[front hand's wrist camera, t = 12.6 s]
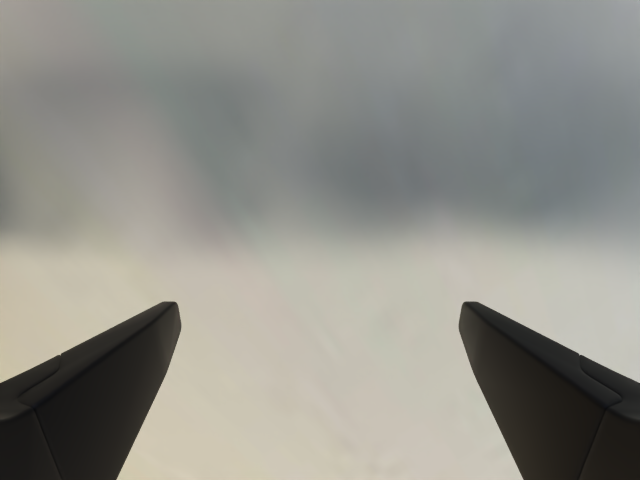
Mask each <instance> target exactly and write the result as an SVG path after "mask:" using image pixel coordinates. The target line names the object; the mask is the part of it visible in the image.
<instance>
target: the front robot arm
mask: <svg viewBox="0 0 640 480" xmlns="http://www.w3.org/2000/svg"><path fill="white" fill-rule="evenodd" d="M180 332H181V320H180V314H179V308H178V305H177V303H176V302H161V303H159V304H157V305H155V306H154V307H152V308H150V309H148V310H146V311H144V312H142V313H140V314H138V315H136V316H134V317H132V318H130V319H128V320H126V321H124V322H122V323H120V324H118V325H116V326H114V327H112V328H110V329H109V330H107V331H105V332H103V333H101V334H99V335H97V336H95V337H93V338H91V339H89V340H87V341H85V342H83V343H81V344H79V345H77V346H75V347H73V348H71V349H69V350H67V351H65V352H63V353H62V354H61V356H60V355H57V356H55V357H54V358H52V359H50V360H48V361H46V362H44V363H42V364H40V365H38V366H36V367H34V368H32V369H30V370H28V371H25V372H23V373H21V374H19V375H17V376H15V377H12V378H10V379H8V380H6V381H4V382H2V383H0V480H116V479H117V477H118V475H119V473H120V471H121V469H122V467H123V465H124V462H125V460H126V458H127V456H128V454H129V452H130V450H131V448H132V445H133V443H134V441H135V439H136V437H137V435H138V433H139V431H140V428H141V426H142V424H143V422H144V420H145V418H146V416H147V414H148V412H149V409H150V407H151V405H152V403H153V401H154V399H155V397H156V395H157V392H158V390H159V388H160V386H161V384H162V382H163V380H164V377H165V375H166V373H167V370H168V367H169V365H170V362H171V359H172V356H173V353H174V350H175V347H176V344H177V341H178V338H179V335H180ZM459 332H460V335H461V338H462V341H463V344H464V347H465V350H466V353H467V356H468V359H469V362H470V365H471V367H472V370H473V373H474V375H475V377H476V380H477V382H478V384H479V386H480V388H481V390H482V392H483V395H484V397H485V399H486V401H487V403H488V405H489V407H490V409H491V412H492V414H493V416H494V418H495V420H496V422H497V424H498V426H499V428H500V431H501V433H502V435H503V437H504V439H505V441H506V443H507V445H508V448H509V450H510V452H511V454H512V456H513V458H514V460H515V462H516V465H517V467H518V469H519V471H520V473H521V475H522V477H523V479H524V480H640V383H638V382H636V381H634V380H632V379H630V378H628V377H625V376H623V375H621V374H619V373H617V372H615V371H612V370H610V369H608V368H606V367H604V366H602V365H600V364H598V363H596V362H594V361H592V360H590V359H588V358H586V357H585V356H583V355H580V356H579V354H578V353H577V352H575V351H573V350H571V349H569V348H567V347H565V346H563V345H561V344H559V343H557V342H555V341H553V340H551V339H549V338H547V337H545V336H543V335H541V334H539V333H537V332H535V331H533V330H531V329H530V328H528V327H526V326H524V325H522V324H520V323H518V322H516V321H514V320H512V319H510V318H508V317H506V316H504V315H502V314H500V313H498V312H496V311H494V310H492V309H490V308H488V307H486V306H485V305H483V304H481V303H479V302H464V303H463V305H462V308H461V314H460V320H459Z"/></svg>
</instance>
